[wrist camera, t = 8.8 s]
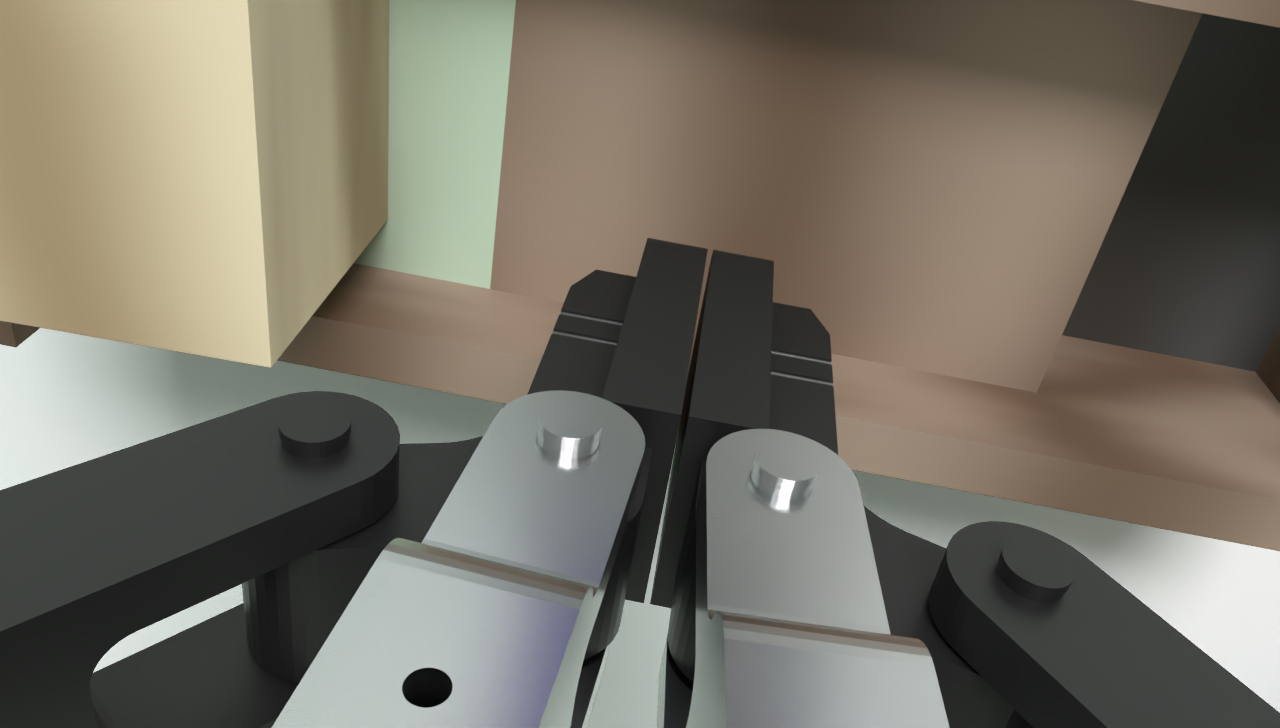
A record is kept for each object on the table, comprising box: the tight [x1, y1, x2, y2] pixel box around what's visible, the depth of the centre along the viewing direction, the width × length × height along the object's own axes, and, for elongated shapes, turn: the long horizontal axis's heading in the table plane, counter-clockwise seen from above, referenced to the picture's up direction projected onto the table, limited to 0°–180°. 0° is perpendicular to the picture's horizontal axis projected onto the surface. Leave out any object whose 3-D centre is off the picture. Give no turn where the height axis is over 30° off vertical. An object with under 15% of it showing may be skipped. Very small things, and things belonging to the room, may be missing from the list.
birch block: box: [0, 0, 389, 368], centre depth 15 cm, size 5×5×5 cm
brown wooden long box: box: [0, 0, 1280, 551], centre depth 17 cm, size 24×9×6 cm, turn 81°
